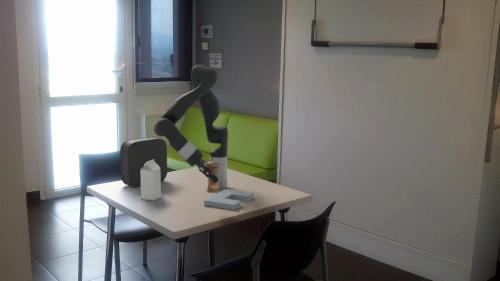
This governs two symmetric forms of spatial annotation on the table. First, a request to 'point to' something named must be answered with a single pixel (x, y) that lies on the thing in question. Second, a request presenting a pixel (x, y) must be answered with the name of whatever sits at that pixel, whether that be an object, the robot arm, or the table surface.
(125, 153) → the speaker
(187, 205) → the table surface
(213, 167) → the bobbin
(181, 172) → the table surface
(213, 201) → the notched board
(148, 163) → the milk carton
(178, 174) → the table surface
